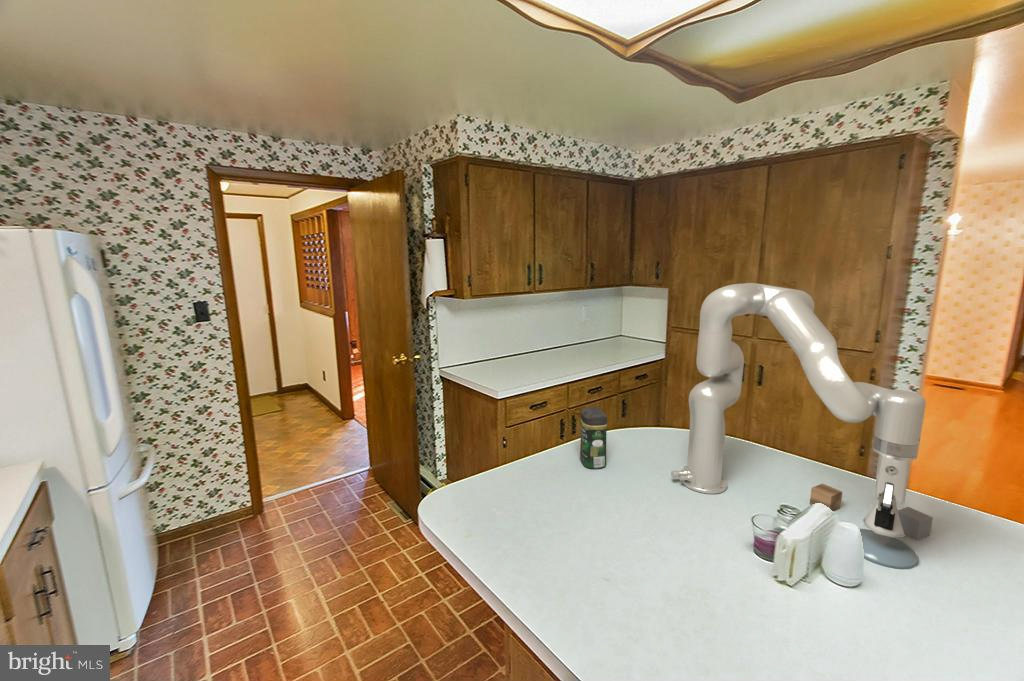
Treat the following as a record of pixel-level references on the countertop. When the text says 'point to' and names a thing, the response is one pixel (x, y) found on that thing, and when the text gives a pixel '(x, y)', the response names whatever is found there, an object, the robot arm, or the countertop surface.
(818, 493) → the walnut block
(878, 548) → the slate plate
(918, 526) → the charcoal block
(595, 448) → the coffee jar
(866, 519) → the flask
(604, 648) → the countertop surface
